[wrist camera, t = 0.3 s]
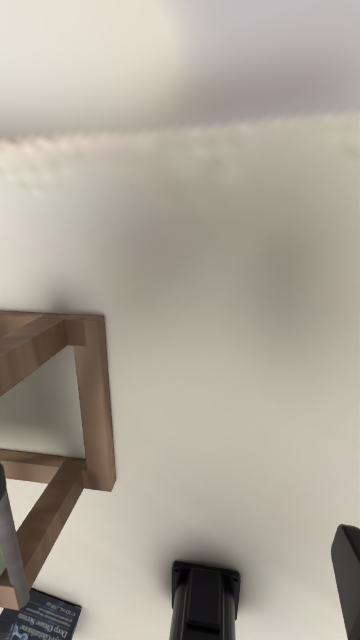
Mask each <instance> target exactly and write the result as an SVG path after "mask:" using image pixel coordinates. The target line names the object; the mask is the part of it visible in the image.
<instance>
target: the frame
mask: <svg viewBox="0 0 360 640" xmlns="http://www.w3.org/2000/svg"><path fill="white" fill-rule="evenodd" d="M67 345H74V353H75V363H76V372H77V381H78V390H79V400H80V409H81V418H82V427H83V436H84V446H85V455H86V460H85V459H77V458H68V457H60V456H51V455H42V454H34V453H25V452H17V451H8V450H0V463H1V464H2V465H3V466H4V471H5V478H8V479H16V480H24V481H31V482H39V483H47V484H48V486H47V487H46V489H45V490H44V492H43V493H42V495H41V496H40V498H39V499H38V501H37V502H36V504H35V505H34V507H33V508H32V509H31V511H30V512H29V514H28V515H27V517H26V518H25V520H24V521H23V523H22V524H21V526H20V527H19V529H18V530H17V532H16V530H15V526H14V521H13V516H12V512H11V507H10V502H9V498H8V493H7V489H6V491H5V494H4V496H3V498H2V500H1V501H0V543H1V547H2V552H3V556H4V560H5V564H6V568H5V570H4V571H3V573H2V574H1V576H0V607H3V608H8V609H14V610H19V609H20V608H22V607H24V606H25V605H26V604H27V603H28V602H29V599H30V595H29V591H30V589H31V587H32V585H33V583H34V581H35V579H36V577H37V575H38V574H39V572H40V570H41V568H42V566H43V564H44V562H45V560H46V559H47V557H48V555H49V553H50V551H51V549H52V547H53V545H54V543H55V542H56V540H57V538H58V536H59V534H60V532H61V530H62V528H63V527H64V525H65V523H66V521H67V519H68V517H69V515H70V513H71V511H72V510H73V508H74V506H75V504H76V502H77V500H78V498H79V496H80V495H81V493H82V491H83V489H84V488H85V489H93V490H100V491H108V492H111V491H112V489H113V486H114V484H115V481H116V476H115V463H114V449H113V435H112V421H111V407H110V394H109V380H108V366H107V352H106V339H105V325H104V316H91V315H71V314H51V313H32V312H12V311H0V396H2V395H3V394H4V393H5V392H7V391H8V390H9V389H11V388H12V387H13V386H15V385H16V384H17V383H19V382H20V381H21V380H22V379H24V378H25V377H26V376H28V375H29V374H30V373H32V372H33V371H34V370H35V369H37V368H38V367H39V366H41V365H42V364H43V363H45V362H46V361H47V360H48V359H50V358H51V357H52V356H54V355H55V354H56V353H58V352H59V351H60V350H61V349H63V348H64V347H65V346H67Z"/></svg>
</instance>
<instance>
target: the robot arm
mask: <svg viewBox="0 0 360 640" xmlns="http://www.w3.org/2000/svg"><path fill="white" fill-rule="evenodd" d="M5 491H6V478H5V471H4V466H3V465H2V464H1V463H0V501H1V500H2V498H3V496H4V494H5ZM331 557H332V563H333V568H334V573H335V578H336V583H337V588H338V593H339V598H340V603H341V608H342V613H343V618H344V623H345V628H346V632H347V637H348V640H360V529H359V528H357V527H355V526H350V525H345V524H340V525H339V526H338V528H337V531H336V534H335V537H334V540H333V543H332V547H331ZM240 581H241V580H240V574H239V573H238V572H235V571H229V570H223V569H216V568H210V567H204V566H197V565H191V564H185V563H178V562H175V563H173V565H172V609H173V615H172V623H171V630H170V638H169V640H235V620H236V619H237V610H238V601H239V591H240Z"/></svg>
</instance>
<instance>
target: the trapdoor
mask: <svg viewBox="0 0 360 640" xmlns="http://www.w3.org/2000/svg"><path fill="white" fill-rule="evenodd" d="M5 568H6V564H5V560H4V556H3V552H2V547H1V543H0V576H1V574H2V573H3V571H4V570H5Z"/></svg>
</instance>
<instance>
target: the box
mask: <svg viewBox="0 0 360 640" xmlns="http://www.w3.org/2000/svg"><path fill="white" fill-rule="evenodd" d="M29 595H30V599H29V602H28V603H27V604H26V605H25V606H24V607H22V608H20V609H19V610H14V609H8V608H4V609H3V611H2V613H1V615H0V640H72V637H73V634H74V631H75V628H76V625H77V621H78V618H79V615H80V612H81V608H80V607H77V606H72V605H70V604H67V603H65V602H62V601H59V600H57V599H54V598H52V597H49V596H46V595H44V594H41V593H39V592H37V591H34V590H31V589H30V591H29Z"/></svg>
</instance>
